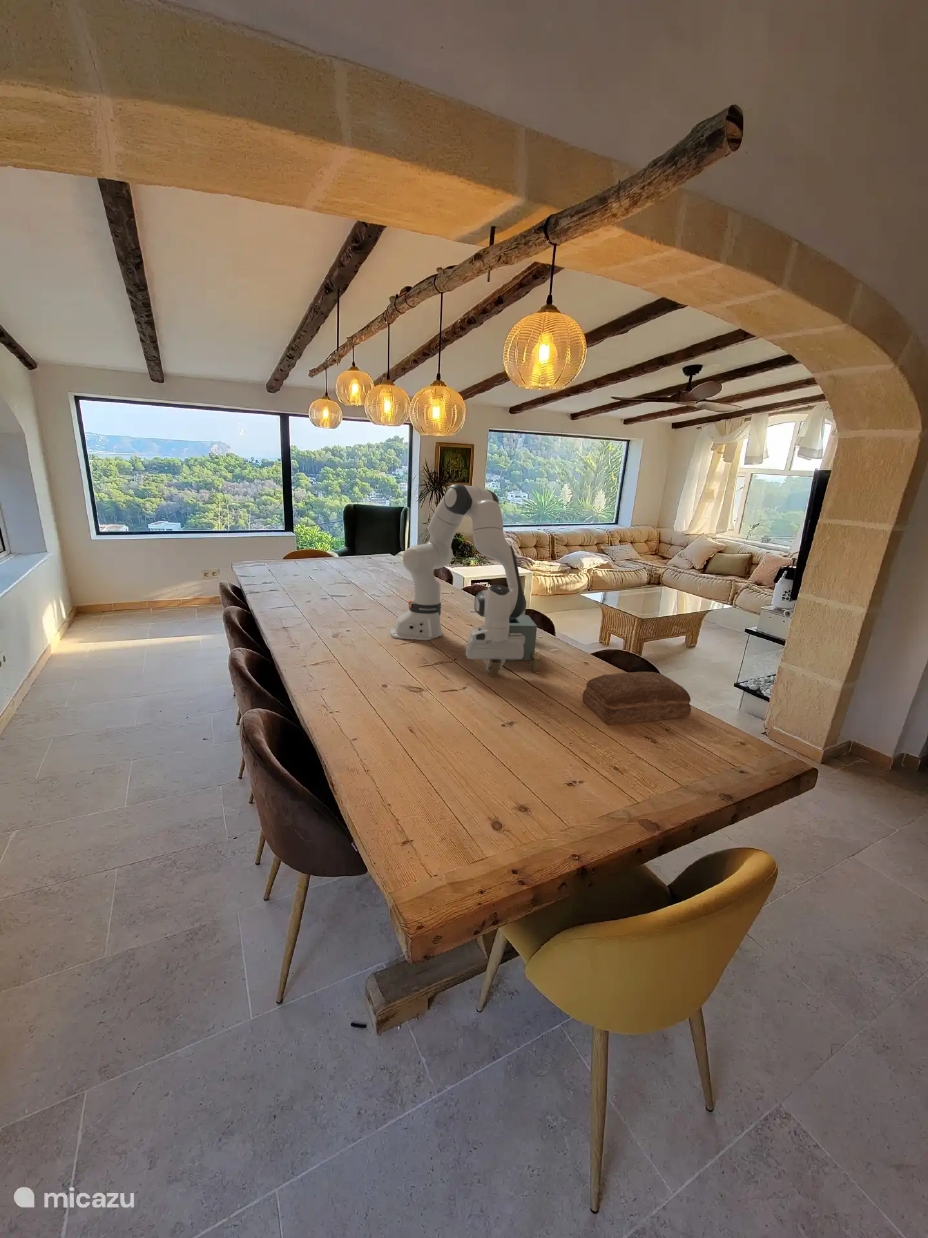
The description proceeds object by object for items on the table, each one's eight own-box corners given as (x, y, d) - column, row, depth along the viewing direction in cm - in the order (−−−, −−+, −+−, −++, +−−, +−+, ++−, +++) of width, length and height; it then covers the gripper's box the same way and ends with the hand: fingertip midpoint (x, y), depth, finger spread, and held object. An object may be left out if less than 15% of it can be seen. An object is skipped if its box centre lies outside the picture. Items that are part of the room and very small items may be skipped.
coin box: (492, 660, 186) (495, 625, 182) (486, 647, 199) (489, 614, 195) (533, 660, 188) (537, 625, 184) (525, 647, 201) (528, 615, 197)
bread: (692, 719, 148) (699, 685, 145) (605, 727, 141) (610, 691, 138) (658, 695, 164) (663, 663, 161) (578, 701, 157) (582, 667, 153)
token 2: (533, 672, 176) (534, 658, 175) (529, 667, 182) (530, 653, 180) (539, 672, 177) (540, 658, 175) (535, 667, 182) (537, 653, 180)
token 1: (491, 677, 171) (492, 662, 169) (488, 671, 176) (489, 656, 174) (497, 677, 171) (499, 662, 169) (495, 671, 176) (496, 656, 175)
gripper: (523, 630, 173) (520, 666, 177) (466, 629, 171) (464, 666, 175) (527, 636, 167) (524, 673, 171) (468, 635, 165) (466, 673, 169)
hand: (493, 669), depth 173 cm, fingers closed on token 1, 2 cm apart
